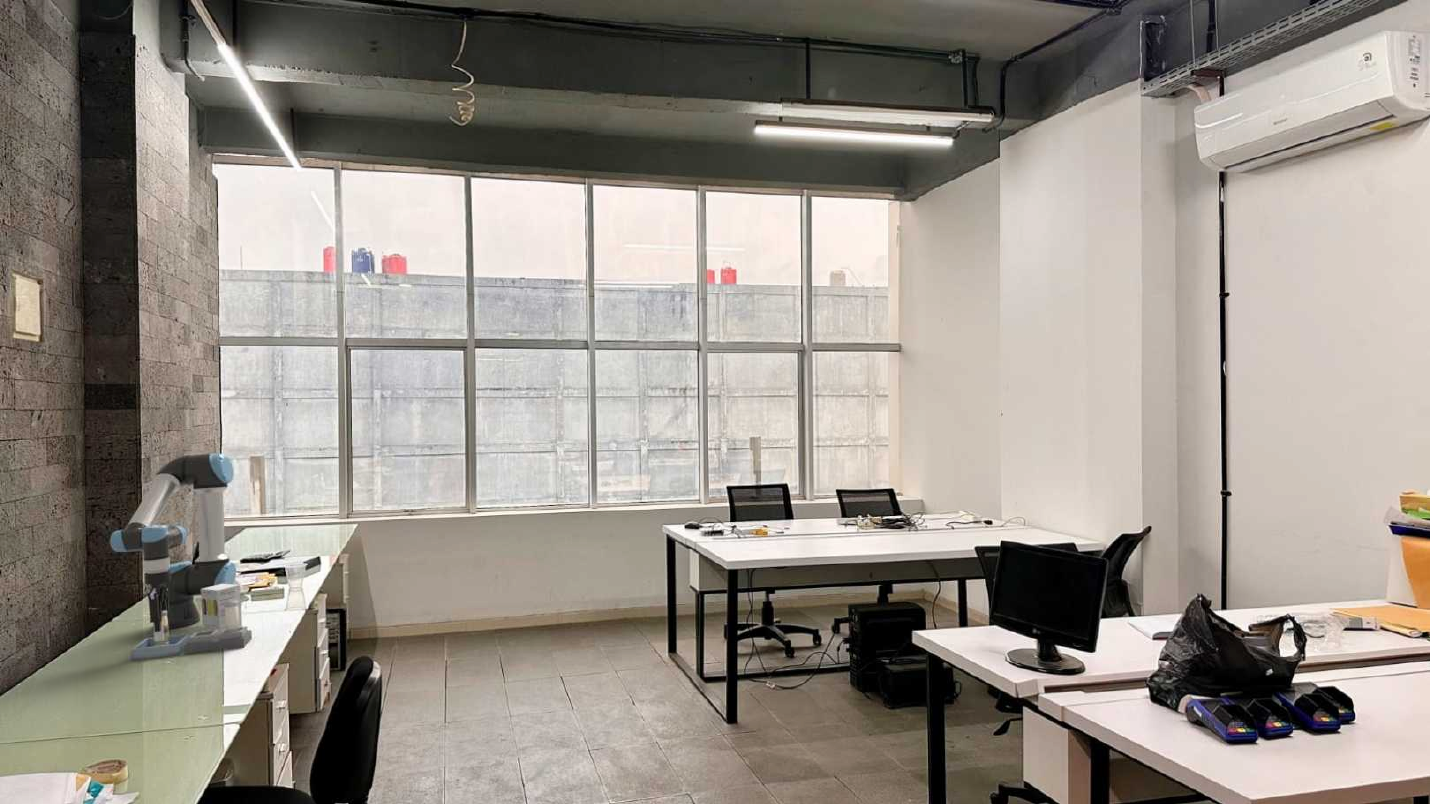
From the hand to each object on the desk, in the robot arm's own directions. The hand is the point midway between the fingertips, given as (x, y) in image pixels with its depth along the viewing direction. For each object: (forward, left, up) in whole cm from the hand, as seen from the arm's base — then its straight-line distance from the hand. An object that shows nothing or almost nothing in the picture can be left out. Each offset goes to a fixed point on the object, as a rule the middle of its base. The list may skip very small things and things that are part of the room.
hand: (161, 638), depth 299 cm
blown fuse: (0, 0, -3) cm, 3 cm away
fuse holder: (+2, +18, -4) cm, 19 cm away
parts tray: (0, 0, -4) cm, 4 cm away
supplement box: (-19, +14, -5) cm, 24 cm away
